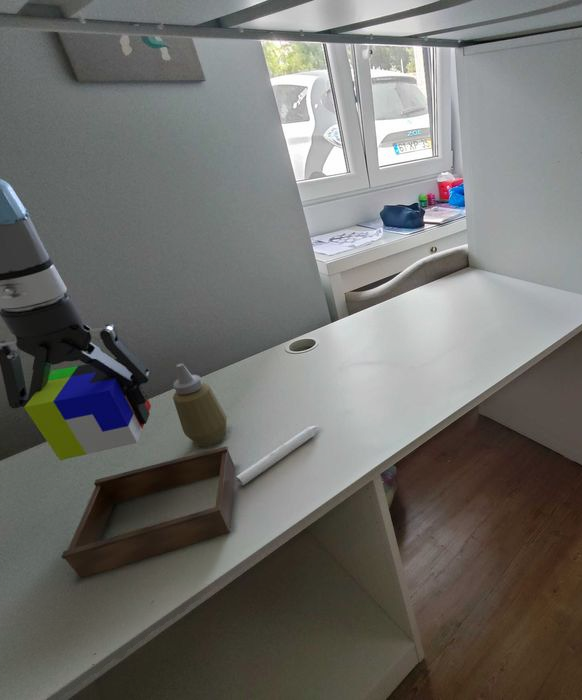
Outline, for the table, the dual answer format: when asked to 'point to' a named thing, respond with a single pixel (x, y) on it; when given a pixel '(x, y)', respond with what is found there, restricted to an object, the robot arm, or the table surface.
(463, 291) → the table surface
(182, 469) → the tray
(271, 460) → the marker
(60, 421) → the puzzle toy
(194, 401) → the squeeze bottle
